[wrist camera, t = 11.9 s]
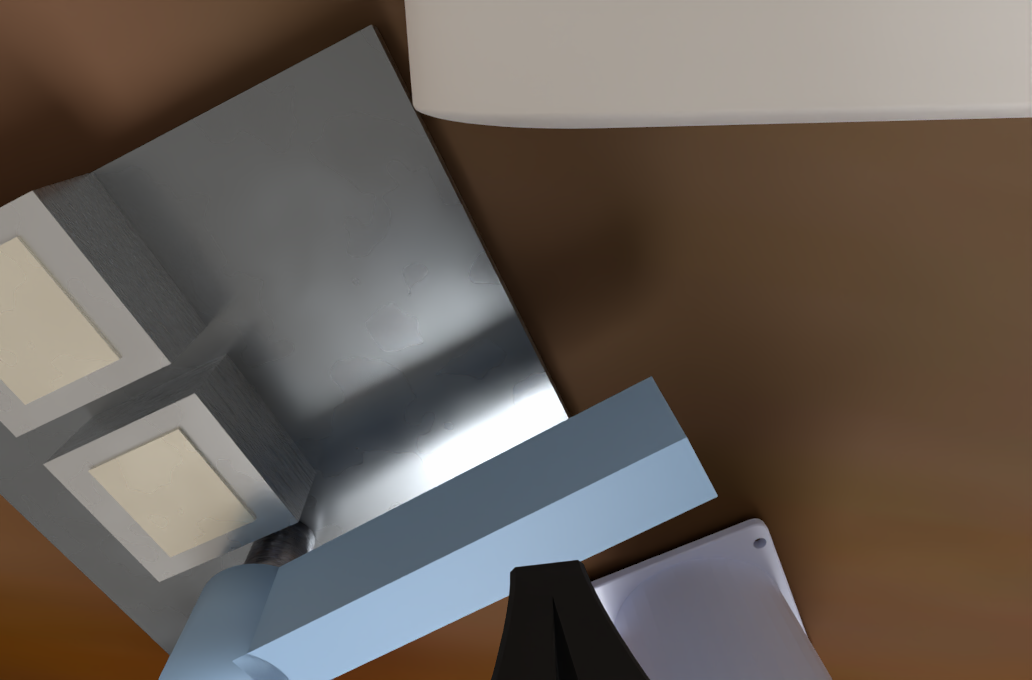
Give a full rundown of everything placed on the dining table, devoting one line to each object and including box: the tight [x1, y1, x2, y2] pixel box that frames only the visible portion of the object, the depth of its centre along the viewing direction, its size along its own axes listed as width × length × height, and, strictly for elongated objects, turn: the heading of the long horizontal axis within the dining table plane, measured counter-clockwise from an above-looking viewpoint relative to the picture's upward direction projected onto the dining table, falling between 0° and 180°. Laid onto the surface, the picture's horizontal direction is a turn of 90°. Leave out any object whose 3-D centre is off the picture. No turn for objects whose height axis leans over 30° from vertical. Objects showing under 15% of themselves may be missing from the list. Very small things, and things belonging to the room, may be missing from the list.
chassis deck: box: [0, 25, 571, 655], centre depth 21 cm, size 18×18×1 cm
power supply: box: [43, 353, 316, 582], centre depth 19 cm, size 5×5×3 cm
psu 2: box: [0, 172, 207, 437], centre depth 17 cm, size 5×5×3 cm
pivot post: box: [244, 521, 315, 567], centre depth 21 cm, size 2×2×4 cm
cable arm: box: [159, 376, 718, 680], centre depth 17 cm, size 16×4×3 cm, turn 119°
